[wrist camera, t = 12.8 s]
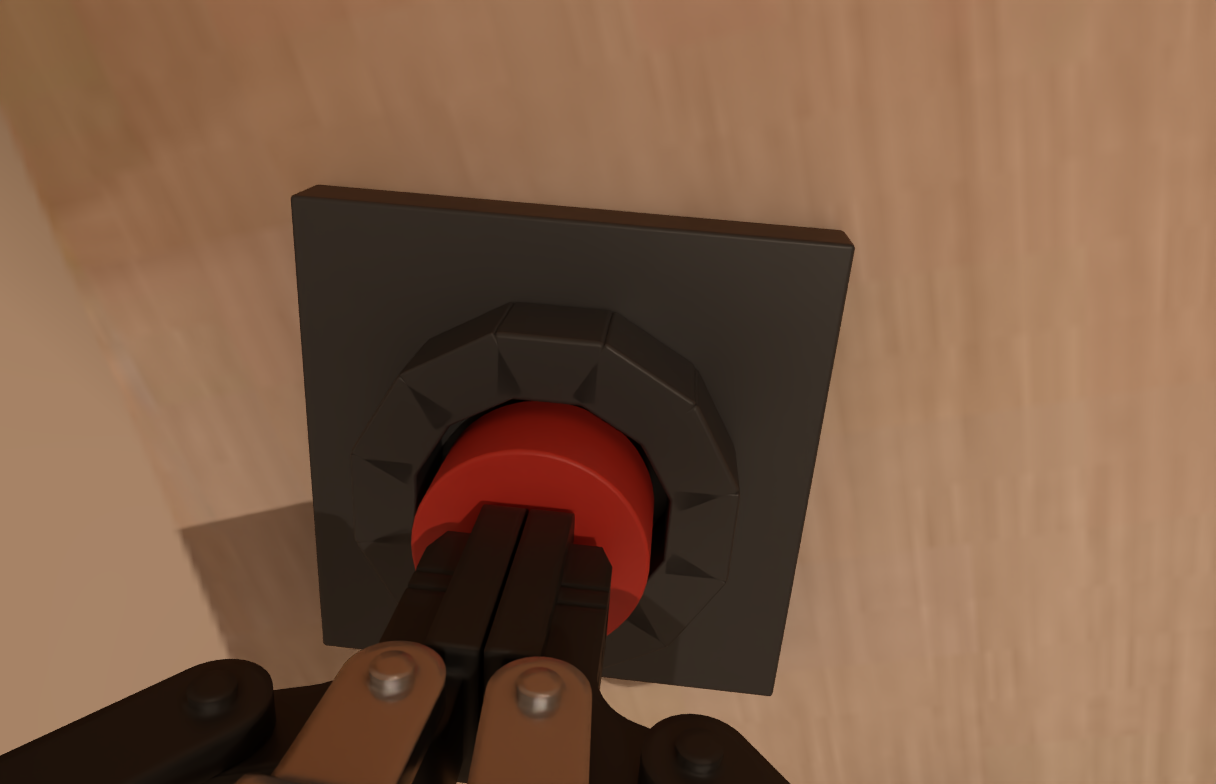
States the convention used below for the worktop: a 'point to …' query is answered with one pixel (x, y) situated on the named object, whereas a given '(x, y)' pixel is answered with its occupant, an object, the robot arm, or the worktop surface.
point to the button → (550, 486)
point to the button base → (573, 395)
